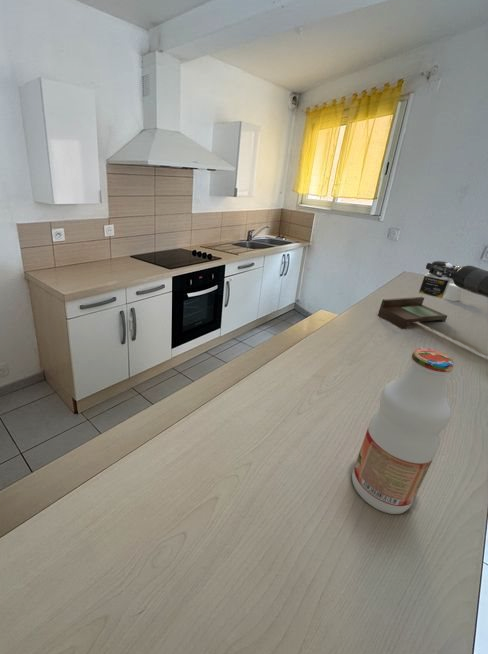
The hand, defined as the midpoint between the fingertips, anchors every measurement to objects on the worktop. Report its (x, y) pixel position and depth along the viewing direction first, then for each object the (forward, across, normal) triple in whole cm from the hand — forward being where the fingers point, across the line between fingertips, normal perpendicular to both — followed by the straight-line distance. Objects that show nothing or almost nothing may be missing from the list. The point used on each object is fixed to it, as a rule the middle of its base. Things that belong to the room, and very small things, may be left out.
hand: (436, 266), depth 117 cm
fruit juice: (-70, +59, +23) cm, 94 cm away
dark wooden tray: (+1, +2, +23) cm, 23 cm away
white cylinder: (+26, -36, +23) cm, 50 cm away
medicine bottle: (-2, 0, +10) cm, 10 cm away
